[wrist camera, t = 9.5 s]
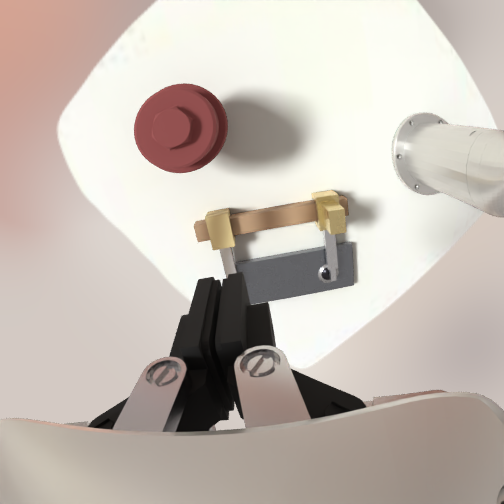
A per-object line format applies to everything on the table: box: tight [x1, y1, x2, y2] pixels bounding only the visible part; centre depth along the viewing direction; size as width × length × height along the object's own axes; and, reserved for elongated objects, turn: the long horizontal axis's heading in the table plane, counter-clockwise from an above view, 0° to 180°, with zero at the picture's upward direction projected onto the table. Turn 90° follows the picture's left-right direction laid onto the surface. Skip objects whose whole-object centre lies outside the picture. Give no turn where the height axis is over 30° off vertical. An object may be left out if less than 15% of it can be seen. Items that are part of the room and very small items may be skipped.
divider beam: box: [194, 195, 349, 278], centre depth 42 cm, size 21×13×3 cm, turn 101°
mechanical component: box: [134, 84, 228, 173], centre depth 32 cm, size 12×10×10 cm
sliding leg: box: [312, 190, 346, 281], centre depth 40 cm, size 3×13×7 cm, turn 11°
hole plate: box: [224, 242, 354, 304], centre depth 45 cm, size 20×7×1 cm, turn 101°
